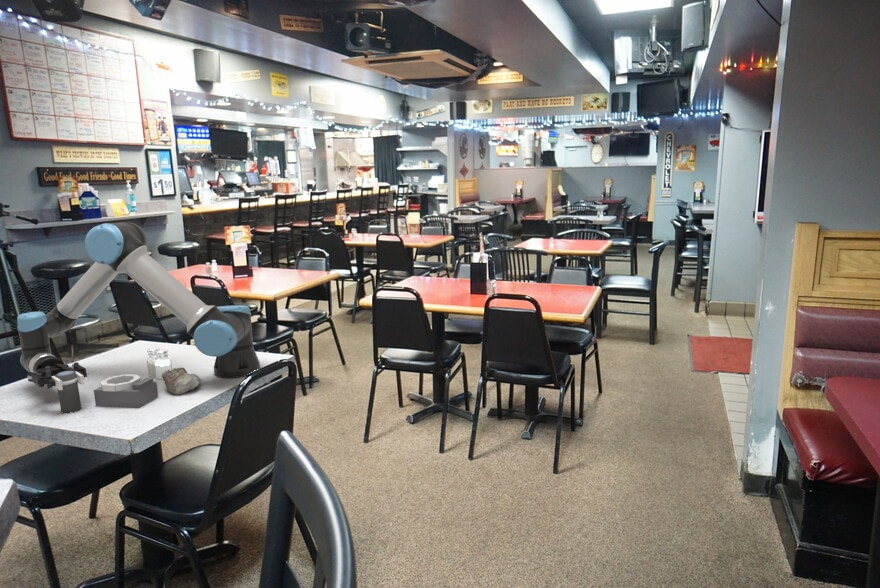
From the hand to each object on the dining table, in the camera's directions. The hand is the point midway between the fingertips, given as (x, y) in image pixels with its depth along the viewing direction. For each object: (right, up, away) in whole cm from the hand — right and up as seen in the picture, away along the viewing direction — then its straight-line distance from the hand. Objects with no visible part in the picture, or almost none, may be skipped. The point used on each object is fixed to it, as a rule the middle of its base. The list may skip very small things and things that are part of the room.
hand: (71, 382), depth 164 cm
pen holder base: (+10, -7, +11) cm, 16 cm away
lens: (-3, -9, +5) cm, 10 cm away
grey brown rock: (+22, -5, +21) cm, 31 cm away
